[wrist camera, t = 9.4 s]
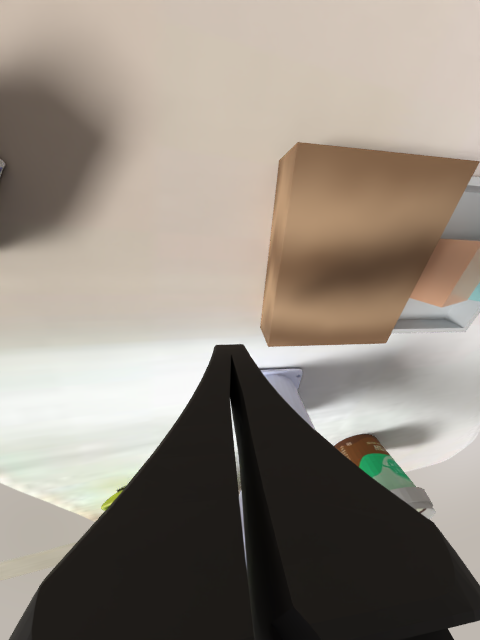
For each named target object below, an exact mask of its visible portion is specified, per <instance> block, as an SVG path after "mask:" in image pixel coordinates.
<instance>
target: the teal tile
mask: <svg viewBox="0 0 480 640" xmlns="http://www.w3.org/2000/svg"><path fill="white" fill-rule="evenodd" d="M468 300H474V301H479V302H480V282H479V284H478V285H477V287H476V288H475V290H474V291H473V293H472V294H471V295H470V297H469V298H468Z"/></svg>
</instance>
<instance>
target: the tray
mask: <svg viewBox="0 0 480 640" xmlns="http://www.w3.org/2000/svg"><path fill="white" fill-rule="evenodd" d="M440 238H443V239H471V240H480V177H474V176H472V177H471V179H470V181H469V183H468V185H467V187H466V189H465V191H464V193H463V195H462V197H461V199H460V201H459V203H458V204H457V206H456V208H455V210H454V212H453V214H452V216H451V218H450V220H449V222H448V224H447V226H446V228H445V230H444V232H443V234H442V236H441V237H440ZM479 313H480V302H479V301H474V300H466V301H463V302H459V303H456V304H453V305H449V306H446V307H442V308H441V307H438V306H435V305H431V304H428V303H425V302H421V301H418V300H415V299H411V298H409V300H408V301H407V303H406V305H405V307H404V309H403V311H402V313H401V315H400V317H399V319H398V321H397V323H396V325H395V327H394V329H393V331H392V333H433V332H466V330H467V329H468V328H469V326H470V325H471V324H472V322H473V321H474V319H475V318H476V317H477V315H478V314H479Z"/></svg>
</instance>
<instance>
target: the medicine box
mask: <svg viewBox="0 0 480 640" xmlns="http://www.w3.org/2000/svg"><path fill="white" fill-rule="evenodd" d="M4 167H5V162H4V161H3V160H1V159H0V177H1V173H2V170H3V168H4Z"/></svg>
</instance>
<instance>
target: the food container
mask: <svg viewBox="0 0 480 640" xmlns="http://www.w3.org/2000/svg"><path fill="white" fill-rule="evenodd" d="M334 447H335V448H336V449H338V450H339V451H340V452H341V453H342V454H343V455H344V456H346V457H347V458H348V459H349V460H351V461H352V462H353V463H354V464H356V465H357V466H358V467H359V468H361V469H362V470H363V471H364V472H366V473H367V474H368V475H369V476H371V477H372V478H373V479H375V480H376V481H377V482H379V483H380V484H381V485H383V486H384V487H385V488H387V489H388V490H390V491H391V492H392V493H394V494H395V495H396V496H398V497H399V498H401V499H402V500H403V501H405V502H406V503H407V504H409V505H410V506H411V507H413V508H414V509H416V510H417V511H418V512H420V513H421V514H422V515H424V516H425V517H426V518H428V519H430V518H432V517H433V516H434V514H435V510H434V509H433V508H432V506H433V505H432V503H431V501H430V499H429V497H428V496H427V494H426V492H425V491H424V489H422V488H419V487H416V486H415V485H414V484H413V482H412V481H411V480H410V479H409V478H408V476H407V475H406V474H405V473H404V471H403V470H402V469H401V468H400V467H399V465H398V464H397V463H396V462H395V461H394V459H393V458H392V457H391V456H390V455H389V453H388V452H387V451H386V450H385V448H384V447H383V446H382V445H381V444H380V442H379V441H378V440H377V439H376V438H375V437H374V436H372V435H369V434H361V435H355V436H352V437H349V438H346V439H344V440H342V441H340V442H339V443H337V444H336V445H335V446H334Z"/></svg>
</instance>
